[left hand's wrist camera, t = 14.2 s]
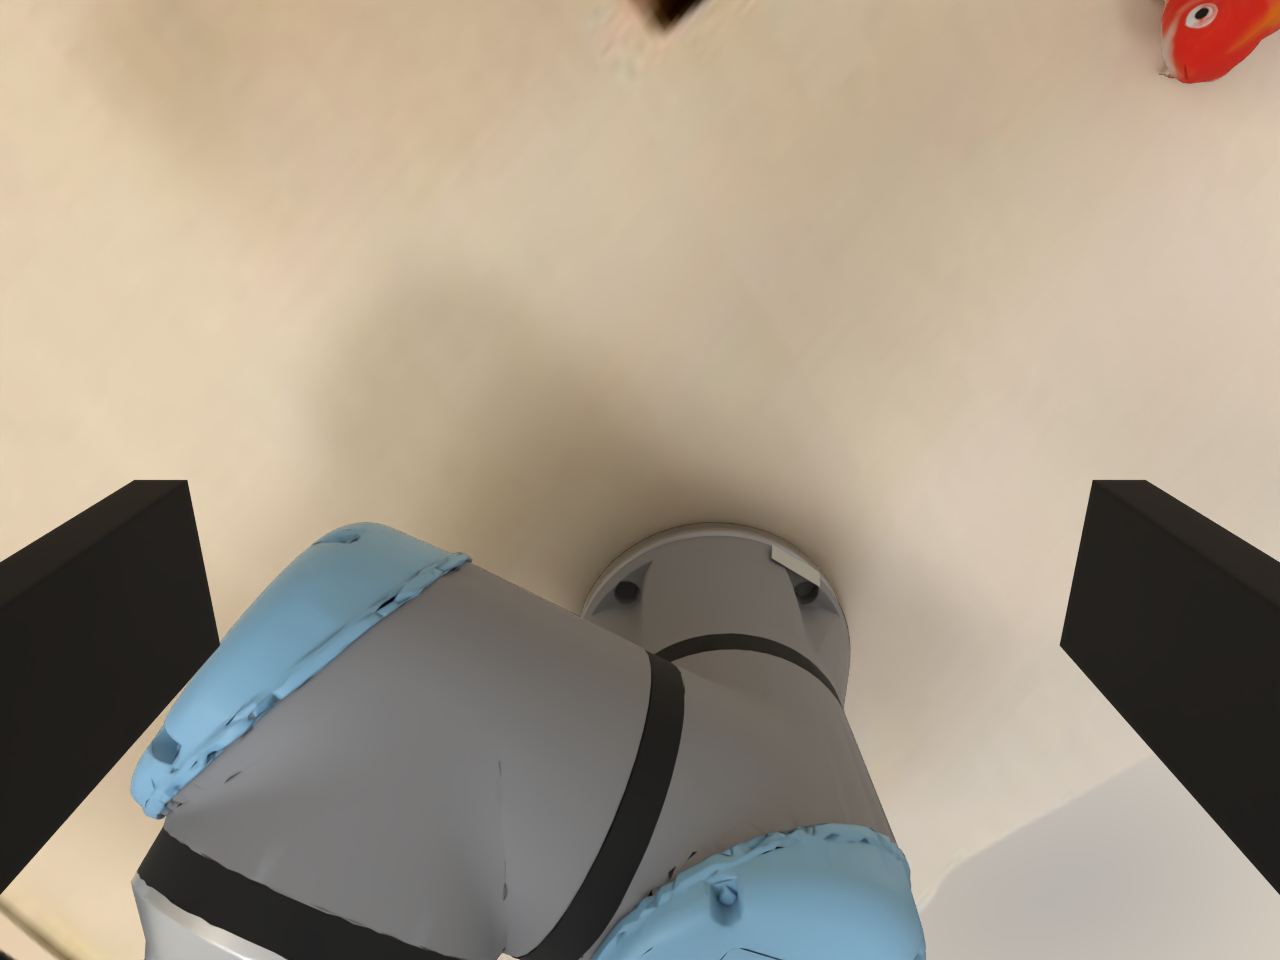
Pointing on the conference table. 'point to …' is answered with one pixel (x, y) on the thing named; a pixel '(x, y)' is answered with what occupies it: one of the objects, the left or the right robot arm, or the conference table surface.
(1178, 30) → the fish
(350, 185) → the conference table surface
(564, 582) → the conference table surface
